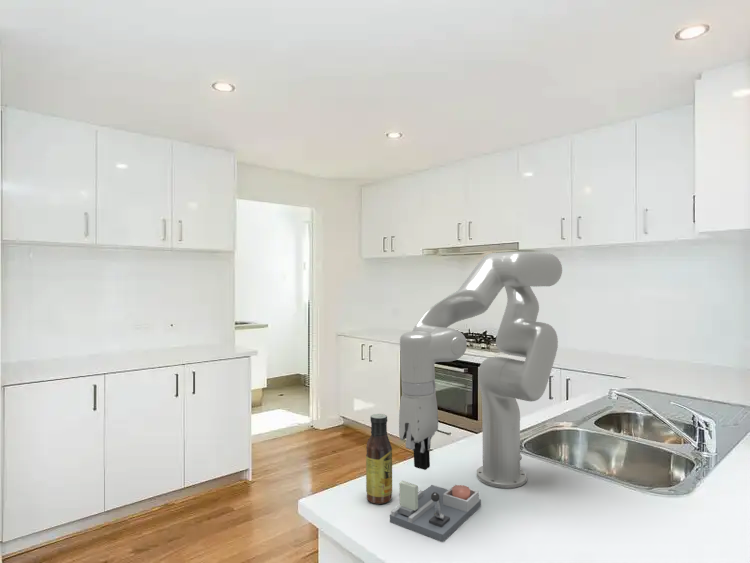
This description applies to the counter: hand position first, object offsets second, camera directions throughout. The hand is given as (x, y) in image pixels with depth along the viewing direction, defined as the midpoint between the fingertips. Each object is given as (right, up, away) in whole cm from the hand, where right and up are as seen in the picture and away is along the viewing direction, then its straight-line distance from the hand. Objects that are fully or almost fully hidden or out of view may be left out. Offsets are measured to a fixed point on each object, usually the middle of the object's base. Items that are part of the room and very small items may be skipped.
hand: (422, 467), depth 106 cm
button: (+9, -8, +1) cm, 12 cm away
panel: (+3, -10, -1) cm, 11 cm away
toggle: (+3, -8, -7) cm, 11 cm away
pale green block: (-3, -8, -4) cm, 10 cm away
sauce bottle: (-10, -10, +6) cm, 15 cm away
